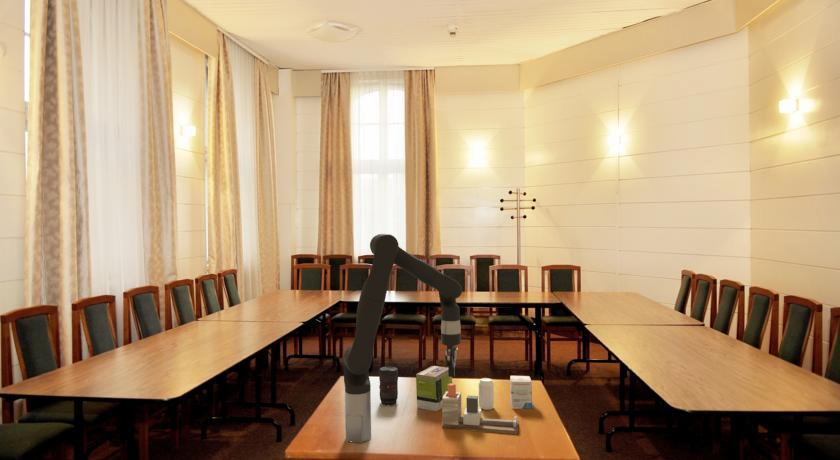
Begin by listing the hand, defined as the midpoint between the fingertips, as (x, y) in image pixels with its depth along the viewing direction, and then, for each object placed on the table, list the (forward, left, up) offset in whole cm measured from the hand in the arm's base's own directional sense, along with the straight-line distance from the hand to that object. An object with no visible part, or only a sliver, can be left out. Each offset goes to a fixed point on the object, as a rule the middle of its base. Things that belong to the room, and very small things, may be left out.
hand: (451, 376), depth 201 cm
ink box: (+26, -25, -19) cm, 41 cm away
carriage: (0, -8, -17) cm, 19 cm away
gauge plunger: (0, 0, -13) cm, 13 cm away
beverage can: (+20, -11, -19) cm, 30 cm away
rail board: (0, -11, -19) cm, 21 cm away
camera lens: (+18, +31, -19) cm, 40 cm away
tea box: (+20, +11, -19) cm, 30 cm away
